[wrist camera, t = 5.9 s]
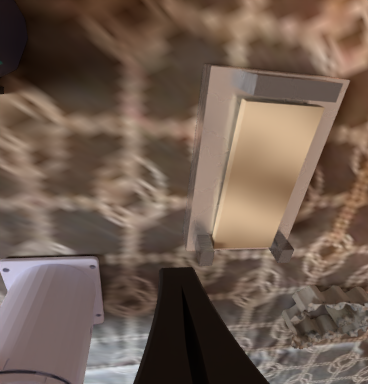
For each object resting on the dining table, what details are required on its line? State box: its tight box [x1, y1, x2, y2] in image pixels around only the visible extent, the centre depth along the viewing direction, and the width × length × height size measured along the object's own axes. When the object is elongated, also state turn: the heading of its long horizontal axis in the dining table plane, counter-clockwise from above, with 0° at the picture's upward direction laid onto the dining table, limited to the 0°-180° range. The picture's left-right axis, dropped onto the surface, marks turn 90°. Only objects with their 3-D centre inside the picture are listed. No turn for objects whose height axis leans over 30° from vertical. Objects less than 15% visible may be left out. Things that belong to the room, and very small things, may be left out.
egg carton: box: [282, 285, 368, 349], centre depth 30 cm, size 11×8×4 cm
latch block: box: [183, 64, 350, 266], centre depth 18 cm, size 14×9×4 cm, turn 175°
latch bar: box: [211, 98, 325, 249], centre depth 18 cm, size 12×5×1 cm, turn 175°
